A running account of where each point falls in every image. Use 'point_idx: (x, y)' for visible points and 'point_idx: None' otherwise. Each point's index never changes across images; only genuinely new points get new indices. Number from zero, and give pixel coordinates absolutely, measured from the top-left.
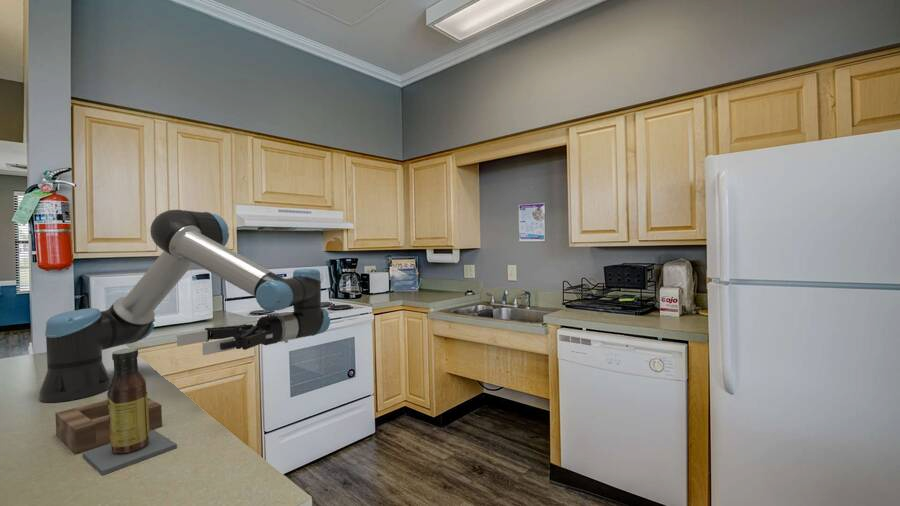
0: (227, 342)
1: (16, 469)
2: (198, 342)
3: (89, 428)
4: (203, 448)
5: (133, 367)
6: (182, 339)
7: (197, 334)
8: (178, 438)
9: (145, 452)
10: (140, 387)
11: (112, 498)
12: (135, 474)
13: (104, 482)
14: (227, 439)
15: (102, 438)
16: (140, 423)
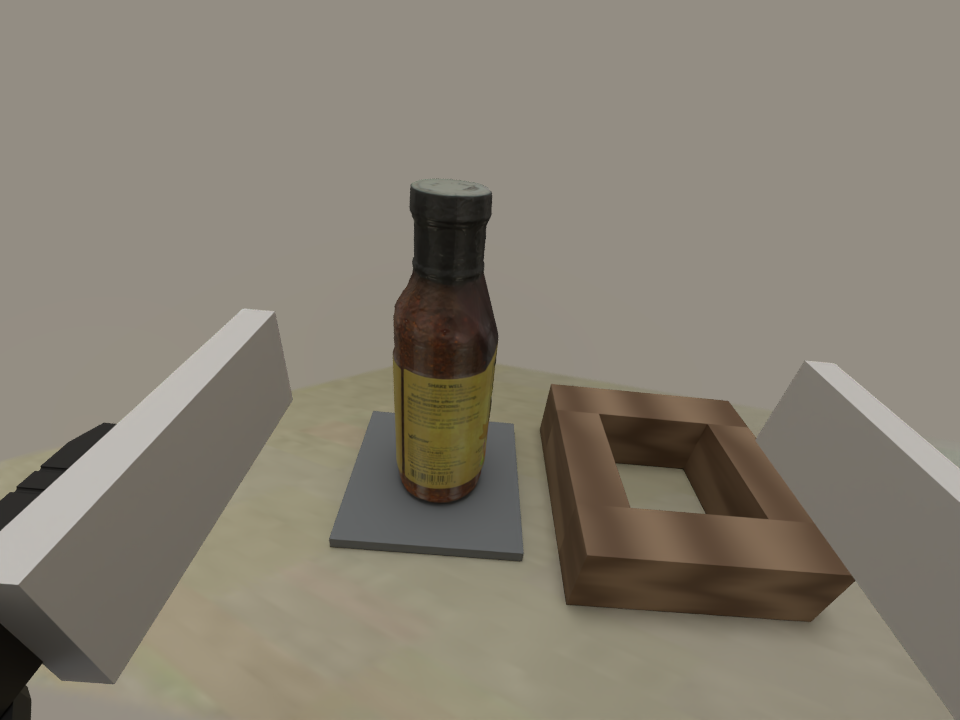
0: (49, 475)
1: (552, 379)
2: (874, 602)
3: (553, 408)
4: (226, 588)
5: (415, 253)
6: (800, 423)
7: (938, 530)
8: (397, 584)
9: (369, 477)
10: (395, 328)
11: None
12: (303, 443)
13: (338, 411)
14: (170, 689)
15: (549, 452)
16: (395, 422)
